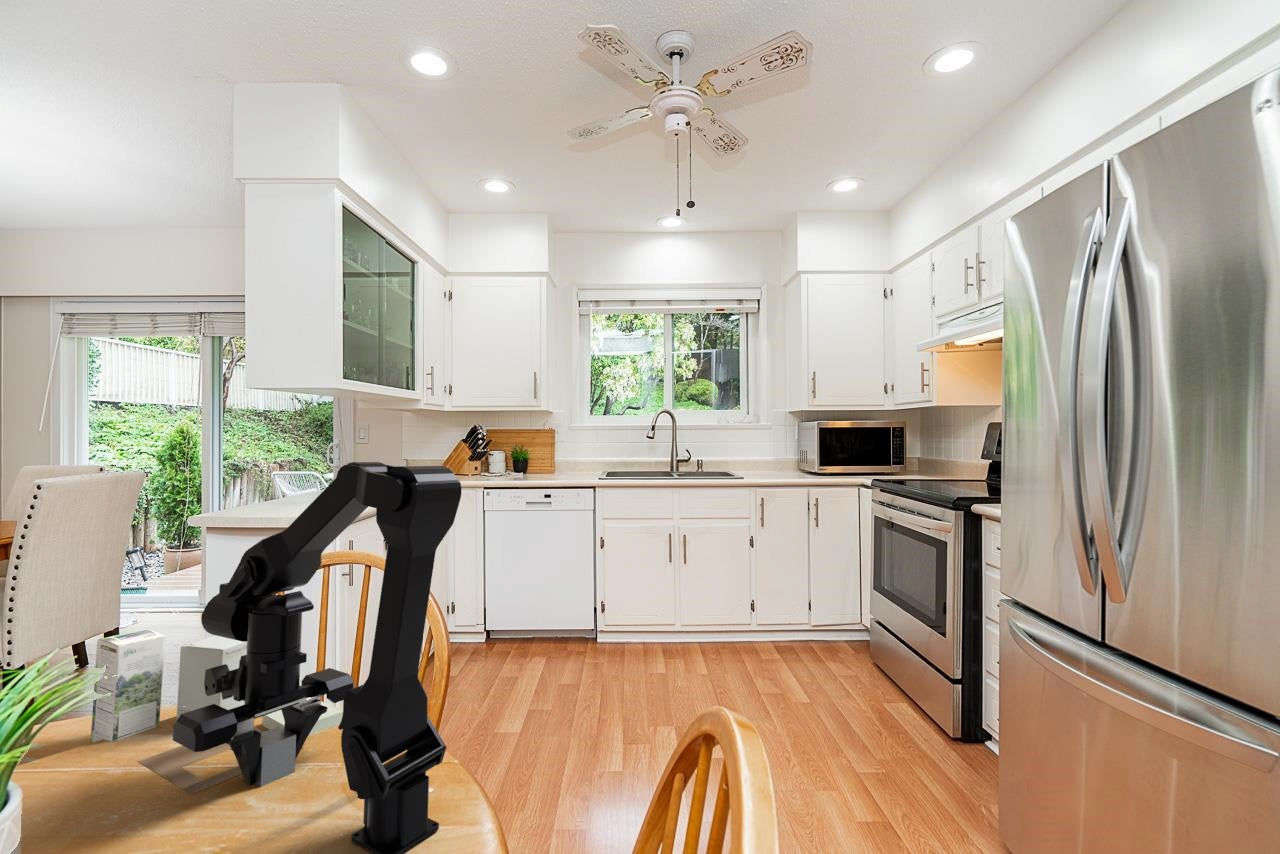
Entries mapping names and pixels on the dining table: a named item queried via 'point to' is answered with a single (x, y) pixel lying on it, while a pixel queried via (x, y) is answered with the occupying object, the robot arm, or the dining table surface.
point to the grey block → (275, 756)
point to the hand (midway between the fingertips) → (269, 776)
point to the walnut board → (181, 756)
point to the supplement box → (193, 671)
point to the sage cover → (323, 723)
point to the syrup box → (128, 685)
